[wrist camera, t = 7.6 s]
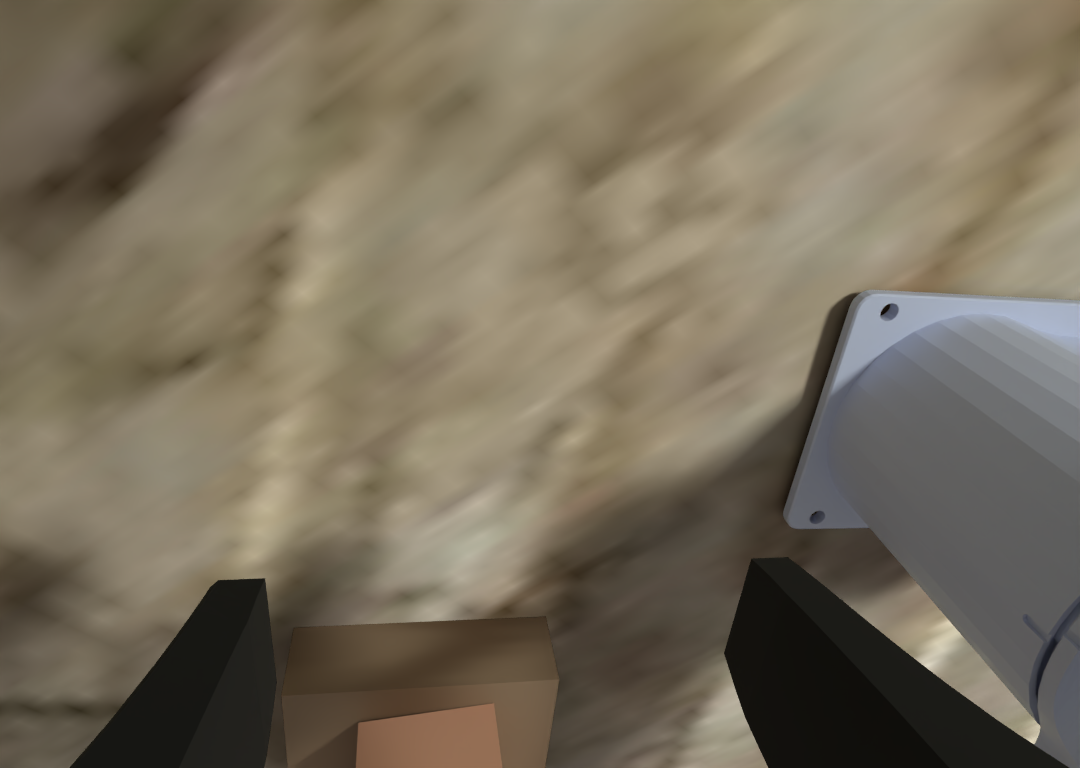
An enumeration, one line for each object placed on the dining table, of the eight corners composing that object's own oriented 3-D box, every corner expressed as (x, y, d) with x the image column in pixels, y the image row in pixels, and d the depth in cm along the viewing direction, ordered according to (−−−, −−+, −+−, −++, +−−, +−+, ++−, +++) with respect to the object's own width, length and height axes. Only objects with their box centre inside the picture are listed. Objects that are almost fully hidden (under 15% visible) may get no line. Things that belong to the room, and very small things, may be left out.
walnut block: (543, 606, 24) (559, 679, 22) (522, 759, 28) (533, 837, 26) (295, 616, 23) (281, 695, 20) (307, 776, 27) (296, 861, 24)
